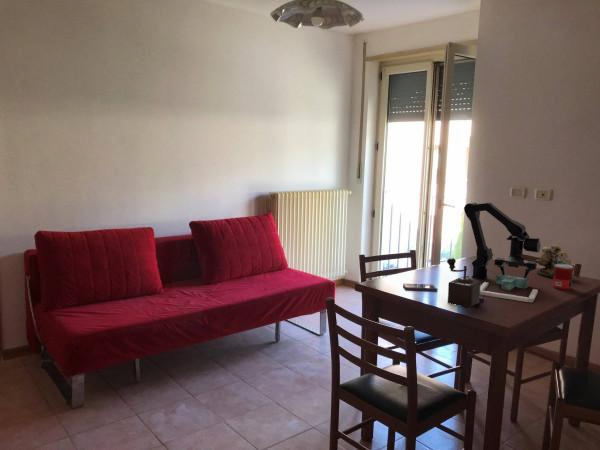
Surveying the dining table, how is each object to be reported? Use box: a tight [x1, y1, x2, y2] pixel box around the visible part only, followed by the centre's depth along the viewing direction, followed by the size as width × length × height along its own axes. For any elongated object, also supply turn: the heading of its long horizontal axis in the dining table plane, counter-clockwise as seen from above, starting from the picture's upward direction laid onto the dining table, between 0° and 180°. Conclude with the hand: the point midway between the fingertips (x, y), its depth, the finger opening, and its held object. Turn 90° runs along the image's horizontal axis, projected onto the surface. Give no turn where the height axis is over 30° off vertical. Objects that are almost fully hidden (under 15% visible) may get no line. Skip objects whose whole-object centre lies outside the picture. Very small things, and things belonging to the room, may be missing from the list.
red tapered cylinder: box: [552, 264, 574, 291], centre depth 241 cm, size 8×8×11 cm
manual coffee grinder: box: [446, 257, 481, 308], centre depth 217 cm, size 16×11×18 cm
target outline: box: [480, 281, 539, 304], centre depth 231 cm, size 24×18×2 cm
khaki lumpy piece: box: [535, 244, 572, 279], centre depth 263 cm, size 18×12×17 cm, turn 40°
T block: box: [495, 273, 530, 291], centre depth 242 cm, size 14×12×4 cm
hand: (514, 280), depth 248 cm, fingers open, 9 cm apart
